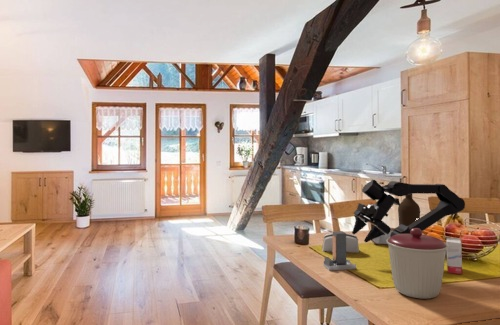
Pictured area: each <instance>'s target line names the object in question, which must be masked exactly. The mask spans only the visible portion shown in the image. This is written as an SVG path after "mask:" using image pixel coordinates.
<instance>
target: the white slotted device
mask: <svg viewBox="0 0 500 325" xmlns="http://www.w3.org/2000/svg"><path fill="white" fill-rule="evenodd" d="M345 233H346V253H360V248H359V247H360V246H359V239H358V237H357V235H356V234H351V233H348V232H345ZM332 235H333V232H332V233H331V232H330V233H327V234H324V237H323V243H322V246H321V250H322V252H325V251H327V253H329V252H331V253H333V238H332Z"/></svg>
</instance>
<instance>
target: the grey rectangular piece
mask: <svg viewBox="0 0 500 325" xmlns="http://www.w3.org/2000/svg"><path fill="white" fill-rule="evenodd" d="M350 260H351V259H346V265H334V264H333V259H331V258H330V257H329V256H324V260H323V266H324V267H325V268H326V269H327V270H328V271H329V272H331V271H343V270H356V269H357V264H356V263H352V262H351V261H350Z"/></svg>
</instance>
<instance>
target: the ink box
mask: <svg viewBox="0 0 500 325" xmlns="http://www.w3.org/2000/svg"><path fill="white" fill-rule="evenodd" d="M461 240H462V239H461V238H459V237H458V238H457V237H446V243H447V244H448V246H449V247H448V249H446V269H447V273H448V274H456V275H463V259H462V258H463V256H462V254H463V252H462V241H461Z"/></svg>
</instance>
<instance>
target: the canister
mask: <svg viewBox="0 0 500 325" xmlns="http://www.w3.org/2000/svg"><path fill="white" fill-rule="evenodd" d="M386 242H387V243H388V245H387V246H388V253H389V260H390V261H389V262H390V268H391V274H392V275H391V276H392V281H393V285H394V287H395V289H396V290H397V292H398V293H401V295H404V296H405V297H409V298H414V299H419V300H420V299H423V300H424V299H426V300H427V299H428V300H429V299H434V298H436V297H437V296H439V294H440V292H441V289H442V285H443V284H442V283H443V278H444V277H443V276H444V268H445V263H446V262H445V261H446V255H447V249H448V247H449V246H448V244H447V242H444V241H443V239H440V238H438V237H436V236H431V235H426V234H423V231H422V230H421V229H419V228H412V229H411V230H410V234H397V235H393V236H391V237H390V238H388V239H387V240H386Z"/></svg>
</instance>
